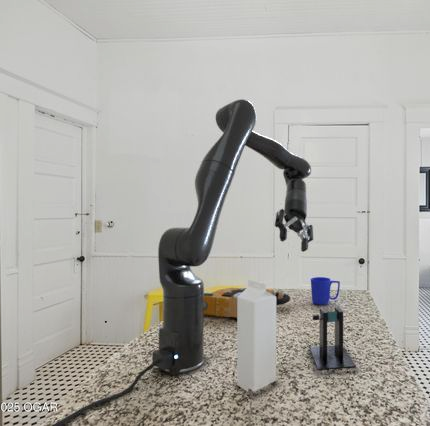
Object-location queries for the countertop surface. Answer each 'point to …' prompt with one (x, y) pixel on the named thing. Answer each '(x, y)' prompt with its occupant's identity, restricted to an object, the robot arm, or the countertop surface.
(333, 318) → the lever
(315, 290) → the mug
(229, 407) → the countertop surface
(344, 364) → the bracket
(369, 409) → the countertop surface
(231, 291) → the device
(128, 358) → the countertop surface
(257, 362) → the milk
